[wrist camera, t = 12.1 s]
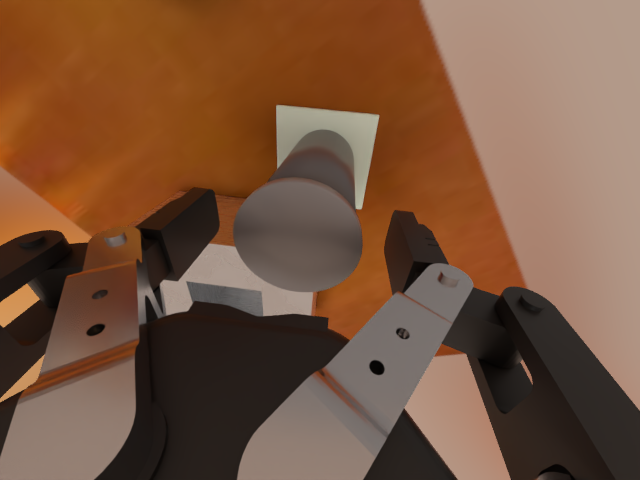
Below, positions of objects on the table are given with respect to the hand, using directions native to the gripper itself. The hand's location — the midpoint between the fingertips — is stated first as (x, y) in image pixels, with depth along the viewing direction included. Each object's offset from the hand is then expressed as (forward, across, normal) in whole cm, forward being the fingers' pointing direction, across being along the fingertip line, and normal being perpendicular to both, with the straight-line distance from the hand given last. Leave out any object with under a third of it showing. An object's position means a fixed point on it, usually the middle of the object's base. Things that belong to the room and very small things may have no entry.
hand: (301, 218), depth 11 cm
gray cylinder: (+9, 0, 0) cm, 9 cm away
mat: (+10, 0, 0) cm, 10 cm away
